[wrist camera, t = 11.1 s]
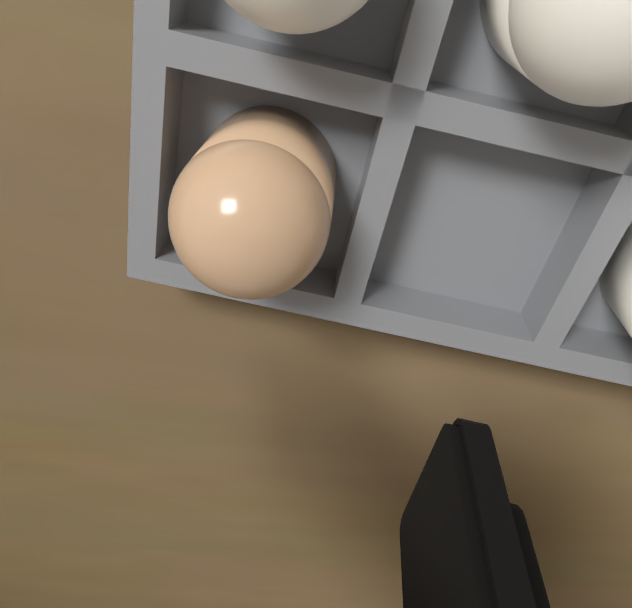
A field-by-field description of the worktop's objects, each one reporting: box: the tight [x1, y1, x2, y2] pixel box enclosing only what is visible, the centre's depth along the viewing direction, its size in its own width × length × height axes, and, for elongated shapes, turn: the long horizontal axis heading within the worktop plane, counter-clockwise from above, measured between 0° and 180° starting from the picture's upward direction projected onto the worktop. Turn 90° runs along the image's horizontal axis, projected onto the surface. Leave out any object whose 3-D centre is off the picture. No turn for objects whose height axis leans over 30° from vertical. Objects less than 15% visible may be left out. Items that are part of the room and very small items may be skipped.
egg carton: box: [127, 0, 632, 386], centre depth 16 cm, size 24×16×7 cm
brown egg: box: [168, 105, 337, 300], centre depth 17 cm, size 5×5×6 cm
